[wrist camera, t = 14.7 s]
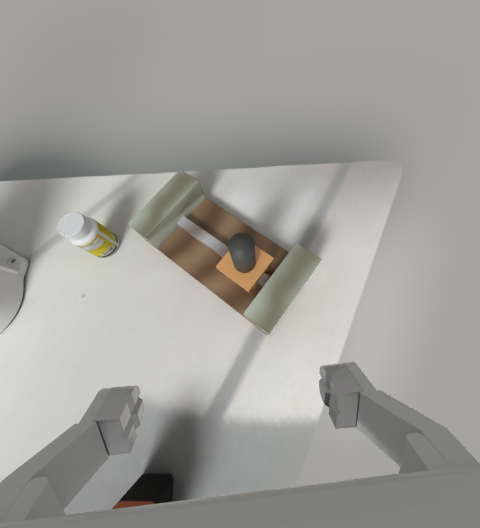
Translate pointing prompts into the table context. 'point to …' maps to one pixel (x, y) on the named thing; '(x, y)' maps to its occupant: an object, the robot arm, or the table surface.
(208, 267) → the rail board
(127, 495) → the battery
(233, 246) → the carriage
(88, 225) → the supplement bottle
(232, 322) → the table surface
